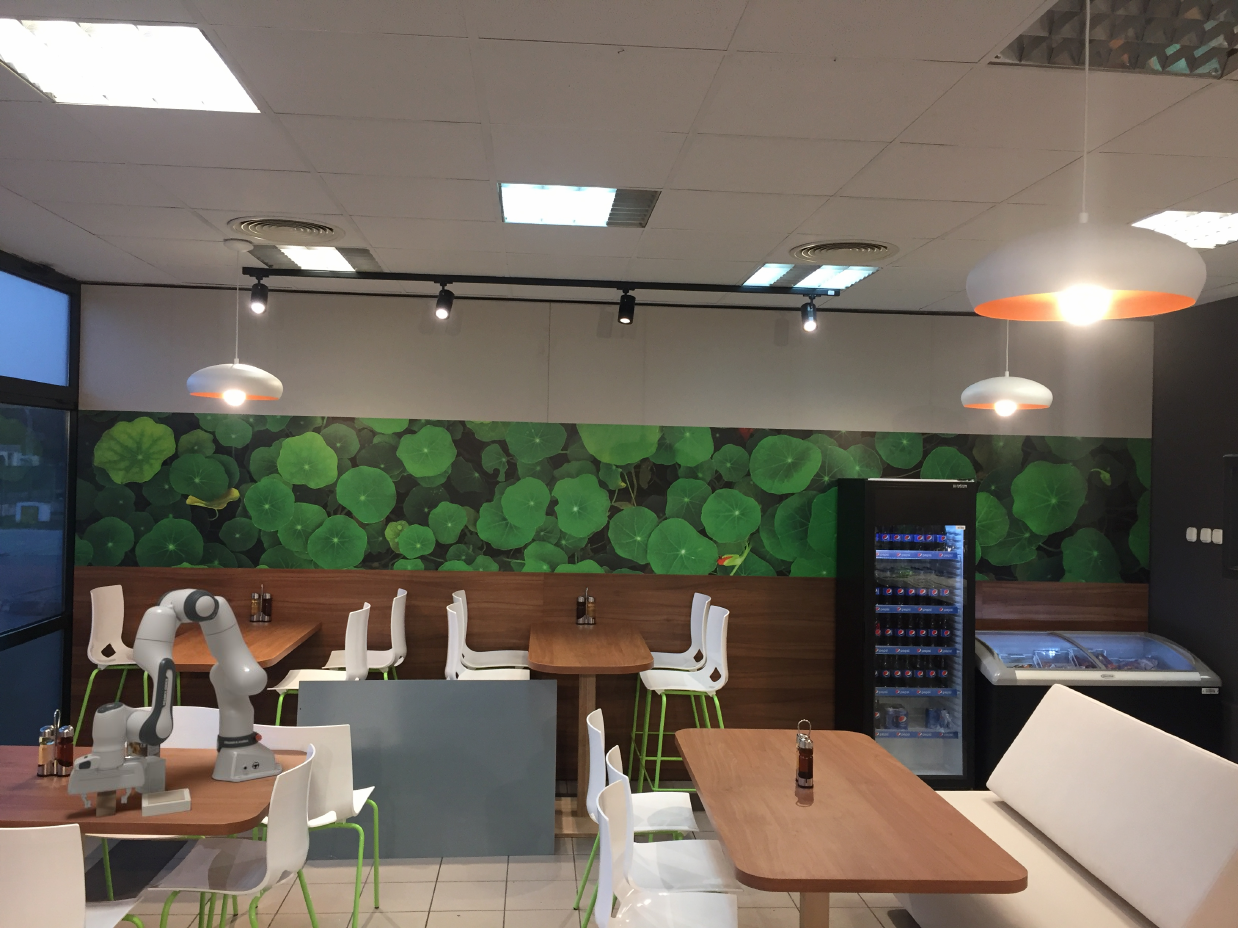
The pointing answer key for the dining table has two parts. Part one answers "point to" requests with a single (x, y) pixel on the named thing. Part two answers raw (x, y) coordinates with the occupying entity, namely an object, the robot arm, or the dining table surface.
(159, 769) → the small box
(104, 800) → the walnut block
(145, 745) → the coffee box
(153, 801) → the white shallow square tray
